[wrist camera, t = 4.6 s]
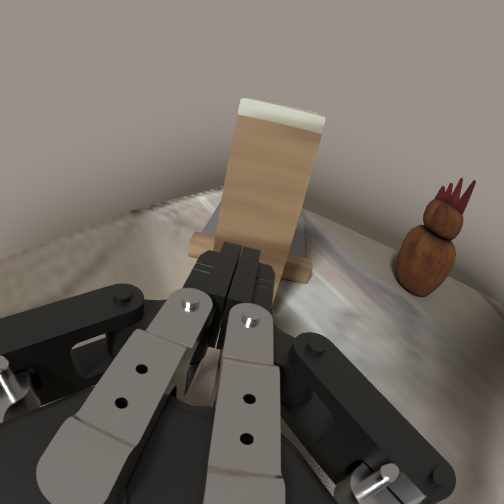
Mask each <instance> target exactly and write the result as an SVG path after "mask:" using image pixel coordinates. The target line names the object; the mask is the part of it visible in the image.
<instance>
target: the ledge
mask: <svg viewBox="0 0 504 504" xmlns="http://www.w3.org/2000/svg"><path fill="white" fill-rule="evenodd" d="M214 241H215V236H212V235H207V234H203V233H199V232H194V234H193V235H192V237H191V240H190V248H189V256H192V257H196V258H199V256H200V255H201V254H203V253H204V252H206V251H208V250H211V251H213V247H214ZM311 270H312V259H307V258H303V257H299V256H295V255H291V254H288V256H287V259H286V263H285V266H284V269H283V273H282V276H281V278H283V279H287V280H292V281H296V282H300V283H304V284H307V281H308V278H309V275H310V273H311Z"/></svg>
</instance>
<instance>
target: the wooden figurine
mask: <svg viewBox="0 0 504 504" xmlns="http://www.w3.org/2000/svg"><path fill="white" fill-rule="evenodd" d="M462 182H463V179H462V178H460V180H459V182H458V184H457V186H456V188H455V190H454V192H453V194H452V195H451V193H452V186H453V184H452V183H450V184H449V186H448V188H447V190H446V192H445V187H444V186H442V187H441V189H440V190H439V192H438V194H437V195H436V197H435V199H434V200H432V201H431V202H430V203H429V204H428V205H427V207H426V209H425V212H424V215H423V222H424V225H419V226H417V227H415V228H413V229H412V230H410V232H409V233H408V234H407V235H406V237H405V239H404V241H403V243H402V246H401V248H400V251H399V255H398V259H397V268H396V275H397V277H398V280H399V282H400V283H401V285H402V286H403V287H404V288H405V289H407V290H408V291H410V292H411V293H413V294H415V295H418V296H427V295H429V294H430V293H432V292H433V291H434V290H436V289H437V288H438V287H439V286H440V285H441V284H442V282H443V281H444V280H445V279H446V277H447V276H448V274H449V272H450V270H451V269H452V266H453V264H454V261H455V256H456V253H455V247H454V244H453V243H452V241H451V240H452V239H454V238H455V237H456V236H457V235H458V234H459V232H460V231H461V228H462V225H463V213H464V210H465V208H466V206H467V203H468V201H469V199H470V196H471V194H472V191H473V188H474V186H475V183H476V181H475V180H474V181H473V182H472V183H471V184H470V186H469V187H468V189H467V190H466V192H465V193H464V194H463V196H462V197H461V198H460V200H459V196H460V192H461V187H462Z"/></svg>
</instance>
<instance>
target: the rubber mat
mask: <svg viewBox="0 0 504 504" xmlns="http://www.w3.org/2000/svg"><path fill="white" fill-rule="evenodd" d="M220 206H221V202H220V204H219V206H218V207H217V209H216V210H215V212H214V213H213V215H212V217H211V218H210V220H209V221H208V223H207V225H206V226H205V228H204V229H203V231H202V233H203V234H207V235H212V236H215V235H216V229H217V223H218V217H219V211H220ZM288 254H291V255H295V256H299V257H303V258H306V247H305V231H304V217H302V216H299V219H298V222H297V226H296V229H295V232H294V236H293V239H292V243H291V246H290V249H289V253H288Z"/></svg>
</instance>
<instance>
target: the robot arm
mask: <svg viewBox="0 0 504 504" xmlns="http://www.w3.org/2000/svg"><path fill="white" fill-rule="evenodd" d="M241 249H242V246H241V245H237V244H233V243H229V242H225V241H224V243H223V246H222V248H221V250H220V252H215V251H211V250H208V251H206V252H204V253H203V254H201V255H200V256H199V258H198V260H197V262H196V264H195V266H194V267H193V269H192V271H191V273H190V275H189V277H188V279H187V280H186V282H185V284H184V286H183V288H182V289H178V290H176V291H174V292H173V293H172V294H171V295H170V296H169V298H168V299H167V300H144V295H143V293H142V291H141V290H140V289H139V288H137V287H135V286H133V285H130V284H114V285H111V286H107V287H104V288H101V289H97V290H94V291H91V292H87V293H84V294H81V295H77V296H74V297H71V298H67V299H64V300H61V301H57V302H54V303H51V304H47V305H44V306H41V307H37V308H34V309H31V310H27V311H24V312H21V313H18V314H14V315H11V316H8V317H5V318H1V319H0V504H437V503H439V502H440V501H442V500H444V499H446V498H447V497H449V496H450V495H451V494H452V492H453V490H454V488H455V484H456V477H455V473H454V470H453V468H452V467H451V465H450V464H449V463H448V462H447V461H446V460H445V459H444V458H443V457H442V456H441V455H440V454H439V453H438V452H437V451H436V450H435V449H434V448H433V447H432V446H431V445H430V444H429V443H428V442H427V440H426V439H425V438H424V437H423V436H422V435H421V434H420V433H419V432H418V431H417V430H416V429H415V428H414V427H413V426H412V425H411V424H410V423H409V422H408V421H407V420H406V419H405V418H404V417H403V416H402V415H401V414H400V413H399V412H398V411H397V410H396V408H395V407H394V406H393V405H392V404H391V403H390V402H389V401H388V400H387V399H386V398H385V397H384V396H383V395H382V394H381V393H380V392H379V391H378V390H377V389H376V388H375V387H374V386H373V385H372V384H371V383H370V382H369V380H368V379H367V378H366V377H365V376H364V375H363V374H362V373H361V372H360V371H359V370H358V369H357V368H356V367H355V366H354V365H353V364H352V363H351V362H350V361H349V360H348V359H347V358H346V357H345V356H344V355H343V353H342V352H341V351H340V350H339V349H338V348H337V347H336V346H335V345H334V344H333V343H332V342H331V341H330V340H329V339H327V338H326V337H324V336H322V335H320V334H317V333H311V332H307V333H302V334H300V335H298V336H297V337H296V338H294V337H292V336H290V335H288V334H286V333H284V332H283V331H281V330H280V329H279V328H277V327H276V325H275V324H274V323H273V318H272V316H271V309H272V301H273V291H274V282H275V272H274V270H273V268H272V266H271V265H267V264H263V263H259V258H260V253H261V250H258V249H254V248H250V247H246V246H243V249H242V252H241ZM240 254H241V256H240ZM239 258H240V259H239ZM220 328H221V329H220ZM219 331H220V334H219ZM102 334H105V335H106V338H103V339H100V340H97V341H95V342H92V343H89V344H86V345H83V346H81V347H78V348H75V349H72V347H73V346H74V345H75V344H77V343H79V342H82V341H85V340H88V339H91V338H93V337H96V336H99V335H102ZM218 335H219V338H218ZM217 338H218V343H217V348H216V349H220V350H221V352H220V356H219V361H218V365H217V370H216V376H215V382H214V388H213V394H212V400H211V406H210V407H198V406H191V405H188V404H186V403H185V402H186V400H187V397H188V395H189V393H190V390H191V388H192V386H193V383H194V381H195V379H196V377H197V374H198V372H199V370H200V367H201V365H202V362H203V358H204V357H205V355H206V352H207V349H208V347H212V348H215V345H216V341H217ZM71 349H72V350H71ZM96 384H97V385H96ZM94 385H96V386H94ZM91 386H92V387H91ZM68 395H69V396H68ZM63 397H64V398H63ZM61 398H62V399H61ZM58 399H59V400H58ZM55 400H57V401H55ZM53 401H55V402H53ZM50 402H52V403H50ZM47 403H50V404H47ZM44 404H47V405H45V406H42V405H44ZM40 406H42V407H40ZM280 416H281V417H282V418H283V420H284V421H285V422H286V424H287V425H288V426H289V427H290V429H291V430H292V431H293V433H294V434H295V435H296V437H297V438H298V439H299V440H300V442H301V443H302V444H303V446H304V447H305V448H306V449H307V451H308V452H309V453H310V454H311V456H312V457H313V458H314V459H315V461H316V462H317V463H318V464H319V466H320V467H321V468H322V469H323V470H324V472H325V473H326V474H327V475H328V477H329V478H330V479H331V480H332V481H333V483H334V484H335V485H336V487H335V490H334V497H333V496H332V495H331V493H330V492H329V491H328V490H327V488H326V487H325V486H324V484H323V483H322V482H321V480H320V479H319V478H318V476H317V475H316V474H315V472H314V471H313V470H312V468H311V467H310V466H309V464H308V463H307V462H306V460H305V459H304V458H303V456H302V455H301V453H300V452H299V451H298V449H297V448H296V447H295V446H294V445H293V444H292V443H291V442H290V441H289V440H288V439H287V438H286V437H284V436H283V435H282V434H281V427H280Z"/></svg>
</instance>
